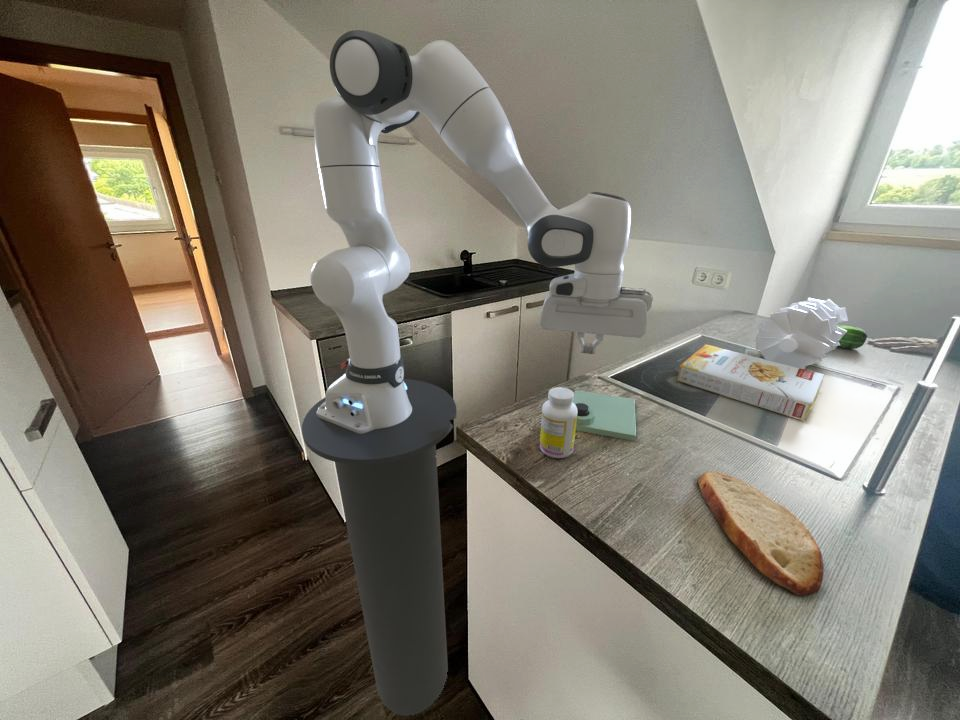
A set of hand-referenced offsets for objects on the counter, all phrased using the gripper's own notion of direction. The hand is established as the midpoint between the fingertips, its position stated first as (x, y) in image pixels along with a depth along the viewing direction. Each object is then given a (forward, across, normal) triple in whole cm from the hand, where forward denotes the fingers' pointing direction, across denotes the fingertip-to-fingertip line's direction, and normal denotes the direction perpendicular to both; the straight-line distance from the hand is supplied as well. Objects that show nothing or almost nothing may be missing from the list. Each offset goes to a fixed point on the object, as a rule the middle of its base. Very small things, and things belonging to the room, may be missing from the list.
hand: (587, 352), depth 79 cm
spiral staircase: (+16, -63, -51) cm, 83 cm away
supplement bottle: (+17, +4, +10) cm, 21 cm away
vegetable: (+15, -80, -70) cm, 107 cm away
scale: (+17, -5, -5) cm, 18 cm away
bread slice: (+17, -26, +24) cm, 39 cm away
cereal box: (+16, -43, -28) cm, 54 cm away
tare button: (+14, 0, 0) cm, 14 cm away
